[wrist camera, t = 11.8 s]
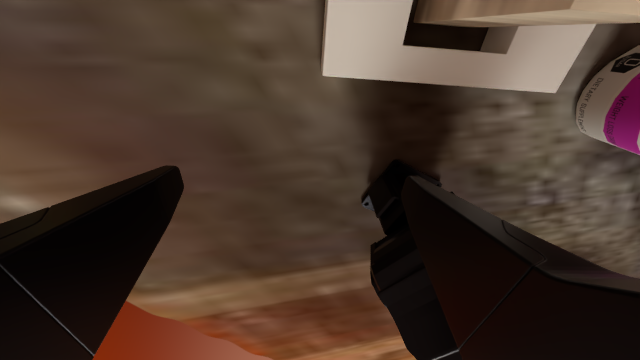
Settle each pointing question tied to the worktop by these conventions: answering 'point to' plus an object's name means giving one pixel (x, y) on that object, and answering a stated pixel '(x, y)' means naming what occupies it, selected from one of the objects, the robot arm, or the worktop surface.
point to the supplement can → (613, 103)
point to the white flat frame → (444, 50)
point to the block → (525, 12)
